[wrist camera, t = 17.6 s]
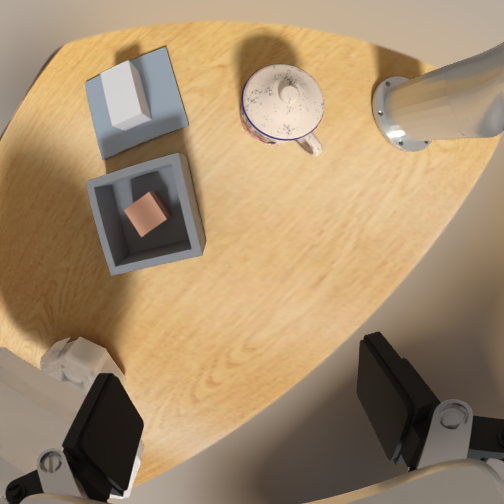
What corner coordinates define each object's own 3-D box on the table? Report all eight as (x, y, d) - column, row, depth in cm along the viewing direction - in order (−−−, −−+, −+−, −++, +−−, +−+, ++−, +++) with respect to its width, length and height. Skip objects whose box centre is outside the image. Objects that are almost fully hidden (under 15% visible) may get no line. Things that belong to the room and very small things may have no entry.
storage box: (186, 156, 36) (178, 152, 29) (206, 241, 40) (202, 255, 33) (107, 179, 36) (85, 181, 29) (128, 259, 39) (111, 275, 32)
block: (156, 189, 36) (149, 191, 32) (172, 214, 37) (166, 219, 33) (133, 206, 36) (124, 210, 32) (149, 230, 37) (141, 237, 34)
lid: (167, 50, 32) (158, 32, 26) (189, 126, 36) (182, 118, 30) (88, 84, 32) (69, 74, 26) (105, 159, 36) (86, 158, 30)
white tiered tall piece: (173, 342, 43) (130, 556, 10) (142, 430, 49) (116, 569, 15) (36, 278, 38) (-101, 397, 5) (35, 380, 44) (-32, 491, 10)
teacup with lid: (224, 111, 35) (223, 86, 24) (274, 73, 34) (293, 39, 23) (282, 176, 38) (305, 178, 27) (329, 137, 37) (367, 127, 26)
